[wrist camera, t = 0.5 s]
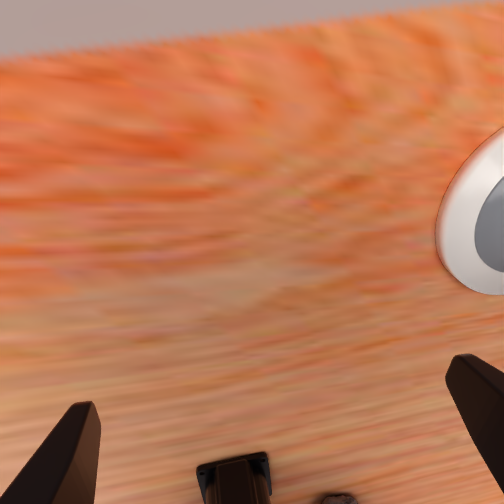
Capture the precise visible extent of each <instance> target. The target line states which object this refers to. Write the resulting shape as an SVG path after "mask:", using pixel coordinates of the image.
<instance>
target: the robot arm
mask: <svg viewBox="0 0 504 504" xmlns="http://www.w3.org/2000/svg"><path fill="white" fill-rule="evenodd" d="M445 381H446V385H447V387H448V389H449V391H450V394H451V396H452V398H453V400H454V402H455V404H456V406H457V408H458V411H459V413H460V415H461V417H462V419H463V421H464V423H465V425H466V428H467V430H468V432H469V434H470V436H471V438H472V440H473V442H474V444H475V445H476V447H477V449H478V451H479V452H480V454H481V456H482V458H483V459H484V461H485V463H486V464H487V466H488V468H489V470H490V471H491V473H492V475H493V476H494V478H495V480H496V481H497V483H498V485H499V487H500V488H501V490H502V492H503V493H504V373H503V372H502V371H500V370H498V369H497V368H495V367H493V366H492V365H490V364H488V363H486V362H485V361H483V360H481V359H480V358H478V357H476V356H474V355H472V354H461V355H456V356H454V357H453V359H452V361H451V364H450V366H449V368H448V371H447V373H446V376H445ZM100 437H101V423H100V420H99V417H98V414H97V411H96V408H95V405H94V403H93V402H92V401H85V402H77V403H74V404H73V405H71V407H70V408H69V409H68V410H67V412H66V413H65V414H64V416H63V417H62V418H61V419H60V421H59V422H58V423H57V425H56V426H55V427H54V428H53V430H52V431H51V432H50V434H49V435H48V436H47V438H46V439H45V440H44V441H43V443H42V444H41V445H40V447H39V448H38V449H37V450H36V452H35V453H34V454H33V456H32V457H31V458H30V460H29V461H28V462H27V463H26V465H25V466H24V467H23V469H22V470H21V471H20V473H19V474H18V475H17V476H16V478H15V479H14V480H13V482H12V483H11V484H10V485H9V487H8V488H7V489H6V491H5V492H4V493H3V495H2V496H1V497H0V504H94V497H95V488H96V478H97V468H98V457H99V447H100ZM196 475H197V479H198V482H199V486H200V489H201V493H202V497H203V500H204V504H271V502H270V496H271V495H272V490H271V481H270V472H269V463H268V457H267V454H266V453H259V454H255V455H250V456H245V457H241V458H236V459H231V460H226V461H222V462H217V463H212V464H208V465H203V466H199V467H198V468H197V469H196Z"/></svg>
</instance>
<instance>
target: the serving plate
mask: <svg viewBox="0 0 504 504" xmlns="http://www.w3.org/2000/svg"><path fill="white" fill-rule="evenodd" d="M435 241H436V247H437V252H438V255H439V257H440V260H441V262H442V263H443V265H444V267H445V268H446V269H447V270H448V271H449V272H450V274H452V275H453V276H454V277H455V278H456V279H458V280H459V281H460V282H461V283H463V284H464V285H465V286H467V287H468V288H470V289H472V290H474V291H477V292H480V293H484V294H490V295H504V127H503V128H501V129H500V130H498V131H497V132H496V133H494V134H493V135H492V136H490V137H489V138H488V139H487V140H486V141H485V142H483V143H482V144H481V145H480V146H479V147H478V148H477V149H476V150H475V151H474V152H473V153H472V154H471V155H470V156H469V158H468V159H467V160H466V161H465V162H464V164H463V165H462V166H461V168H460V169H459V170H458V172H457V173H456V175H455V176H454V178H453V180H452V181H451V183H450V185H449V186H448V189H447V191H446V193H445V195H444V197H443V200H442V202H441V205H440V208H439V212H438V216H437V220H436V229H435Z"/></svg>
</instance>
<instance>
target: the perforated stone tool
mask: <svg viewBox="0 0 504 504" xmlns="http://www.w3.org/2000/svg"><path fill="white" fill-rule="evenodd" d="M323 504H358V503H357V502H356V501H355V499H354V498H352V497H351V496H349V497H345V496H344V495H342V496H337V497H335V496H333V497H327V498H326V499H325V500H324V501H323Z"/></svg>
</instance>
